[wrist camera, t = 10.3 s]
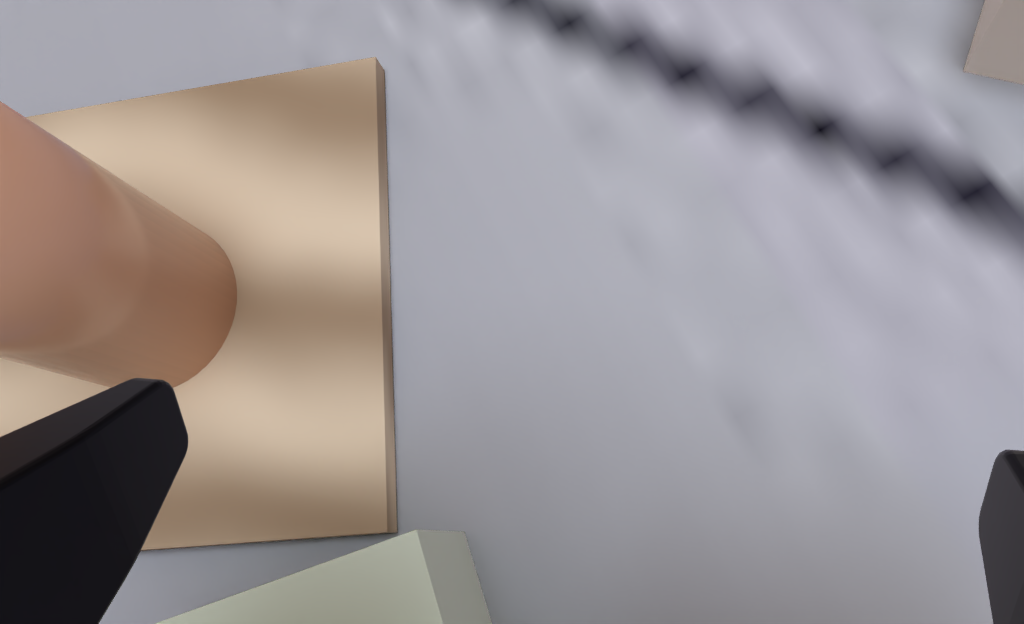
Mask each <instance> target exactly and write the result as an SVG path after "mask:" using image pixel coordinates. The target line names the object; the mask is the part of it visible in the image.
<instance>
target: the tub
mask: <svg viewBox="0 0 1024 624" xmlns="http://www.w3.org/2000/svg"><path fill="white" fill-rule="evenodd" d="M155 624H492V621H491V618H490V615H489V612H488V608H487V605H486V602H485V598H484V595H483V592H482V588H481V585H480V582H479V579H478V575H477V572H476V569H475V565H474V562H473V559H472V555H471V552H470V549H469V546H468V542H467V539H466V536H465V532H459V531H438V530H417V529H416V530H413V531H411V532H408V533H405V534H402V535H399V536H397V537H394V538H391V539H388V540H386V541H383V542H380V543H377V544H374V545H372V546H369V547H366V548H363V549H361V550H358V551H355V552H352V553H349V554H347V555H344V556H341V557H338V558H336V559H333V560H330V561H327V562H325V563H322V564H319V565H316V566H313V567H311V568H308V569H305V570H302V571H300V572H297V573H294V574H291V575H288V576H286V577H283V578H280V579H277V580H275V581H272V582H269V583H266V584H263V585H261V586H258V587H255V588H252V589H250V590H247V591H244V592H241V593H238V594H236V595H233V596H230V597H227V598H225V599H222V600H219V601H216V602H213V603H211V604H208V605H205V606H202V607H200V608H197V609H194V610H191V611H188V612H186V613H183V614H180V615H177V616H175V617H172V618H169V619H166V620H164V621H161V622H158V623H155Z"/></svg>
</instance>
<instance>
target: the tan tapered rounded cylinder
mask: <svg viewBox="0 0 1024 624" xmlns="http://www.w3.org/2000/svg"><path fill="white" fill-rule="evenodd" d="M236 305H237V285H236V278H235V274H234V270H233V268H232V265H231V263H230V260H229V258H228V257H227V255H226V253H225V252H224V250H223V249H222V248H221V247H220V245H219V244H218V243H217V242H216V241H215V240H214V239H213V238H211V237H210V236H209V235H207V234H206V233H204V232H203V231H201V230H200V229H198V228H196V227H195V226H193V225H192V224H190V223H189V222H187V221H186V220H184V219H182V218H181V217H179V216H178V215H176V214H175V213H173V212H172V211H170V210H168V209H167V208H165V207H164V206H162V205H161V204H159V203H158V202H156V201H154V200H153V199H151V198H150V197H148V196H147V195H145V194H144V193H142V192H140V191H139V190H137V189H136V188H134V187H133V186H131V185H130V184H128V183H126V182H125V181H123V180H122V179H120V178H119V177H117V176H116V175H114V174H112V173H111V172H109V171H108V170H106V169H105V168H103V167H102V166H100V165H98V164H97V163H95V162H94V161H92V160H91V159H89V158H88V157H86V156H84V155H83V154H81V153H80V152H78V151H77V150H75V149H74V148H72V147H71V146H69V145H67V144H66V143H64V142H63V141H61V140H60V139H58V138H57V137H55V136H53V135H52V134H50V133H49V132H47V131H46V130H44V129H43V128H41V127H39V126H38V125H36V124H35V123H33V122H32V121H30V120H29V119H27V118H25V117H24V116H22V115H21V114H19V113H18V112H16V111H15V110H13V109H11V108H10V107H8V106H7V105H5V104H4V103H2V102H1V101H0V358H2V359H5V360H9V361H13V362H17V363H20V364H24V365H28V366H32V367H35V368H39V369H43V370H47V371H51V372H54V373H58V374H62V375H66V376H69V377H73V378H77V379H81V380H84V381H88V382H92V383H96V384H100V385H103V386H107V387H114V386H116V385H118V384H120V383H123V382H125V381H127V380H130V379H132V378H149V379H160V380H164V381H166V382H168V383H169V384H170V385H171V386H172V387H173V388H174V387H176V386H179V385H180V384H182V383H184V382H186V381H188V380H189V379H191V378H192V377H194V376H195V375H197V374H198V373H199V372H200V371H201V370H202V369H204V368H205V367H206V366H207V365H208V364H209V363H210V361H211V360H212V359H213V358H214V357H215V356H216V354H217V353H218V351H219V350H220V349H221V347H222V345H223V343H224V342H225V340H226V338H227V336H228V334H229V331H230V329H231V326H232V323H233V320H234V316H235V311H236Z"/></svg>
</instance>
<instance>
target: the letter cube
mask: <svg viewBox="0 0 1024 624" xmlns="http://www.w3.org/2000/svg"><path fill="white" fill-rule="evenodd" d="M963 72H967V73H972V74H976V75H981V76H986V77H990V78H995V79H999V80H1004V81H1009V82H1013V83H1018V84H1022V85H1024V0H985V1H984V4H983V8H982V11H981V14H980V18H979V21H978V24H977V27H976V31H975V34H974V37H973V40H972V44H971V47H970V50H969V53H968V57H967V60H966V63H965V67H964V70H963Z"/></svg>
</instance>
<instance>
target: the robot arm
mask: <svg viewBox="0 0 1024 624" xmlns="http://www.w3.org/2000/svg"><path fill="white" fill-rule="evenodd" d="M187 449H188V433H187V429H186V426H185V423H184V420H183V417H182V414H181V411H180V407H179V404H178V401H177V398H176V395H175V392H174V389H173V387H172V386H171V385H170V384H169V383H168V382H166V381H164V380H160V379H149V378H132V379H130V380H127V381H125V382H123V383H120V384H118V385H116V386H114V387H111V388H109V389H107V390H105V391H102V392H100V393H98V394H96V395H93V396H91V397H89V398H87V399H84V400H82V401H80V402H78V403H75V404H73V405H71V406H69V407H66V408H64V409H62V410H60V411H57V412H55V413H53V414H51V415H48V416H46V417H44V418H42V419H39V420H37V421H35V422H33V423H30V424H28V425H26V426H24V427H21V428H19V429H17V430H15V431H12V432H10V433H8V434H6V435H3V436H1V437H0V624H99V622H100V620H101V619H102V617H103V615H104V614H105V612H106V610H107V609H108V607H109V605H110V604H111V602H112V600H113V599H114V597H115V595H116V594H117V592H118V590H119V589H120V587H121V585H122V584H123V582H124V580H125V579H126V577H127V575H128V573H129V571H130V570H131V568H132V566H133V564H134V563H135V561H136V559H137V557H138V555H139V553H140V551H141V549H142V547H143V545H144V543H145V541H146V538H147V536H148V534H149V532H150V530H151V528H152V526H153V524H154V522H155V519H156V517H157V515H158V513H159V511H160V509H161V507H162V505H163V502H164V500H165V498H166V496H167V494H168V492H169V490H170V488H171V485H172V483H173V481H174V479H175V477H176V475H177V473H178V471H179V469H180V466H181V464H182V462H183V460H184V458H185V455H186V453H187ZM979 538H980V544H981V550H982V556H983V562H984V569H985V575H986V581H987V587H988V593H989V599H990V605H991V612H992V618H993V624H1024V451H1019V450H1004V451H1002V452H1001V453H999V455H998V456H997V458H996V459H995V462H994V465H993V468H992V472H991V475H990V479H989V482H988V486H987V489H986V493H985V496H984V500H983V503H982V507H981V511H980V516H979Z"/></svg>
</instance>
